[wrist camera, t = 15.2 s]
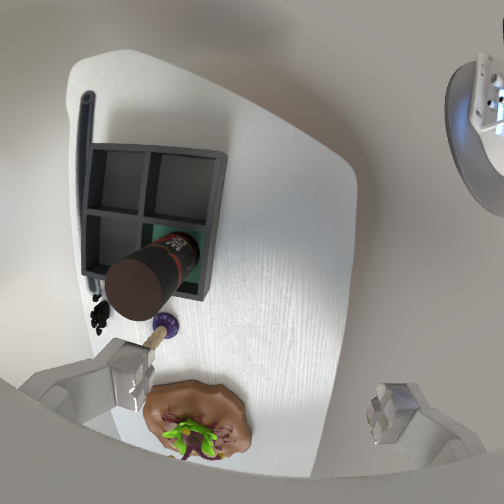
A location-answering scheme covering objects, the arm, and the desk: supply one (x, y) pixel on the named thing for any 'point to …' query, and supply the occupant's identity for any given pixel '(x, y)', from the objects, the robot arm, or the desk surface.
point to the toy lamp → (162, 330)
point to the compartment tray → (150, 205)
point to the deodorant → (151, 275)
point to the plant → (197, 419)
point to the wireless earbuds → (99, 314)
